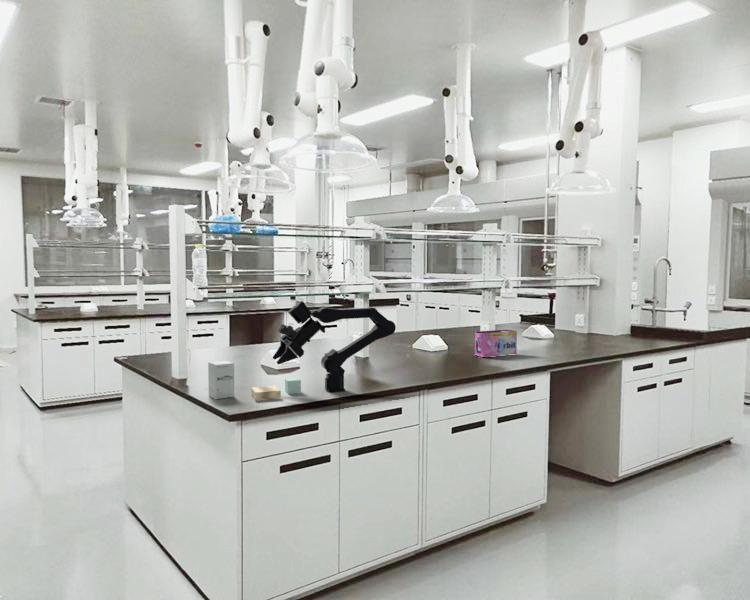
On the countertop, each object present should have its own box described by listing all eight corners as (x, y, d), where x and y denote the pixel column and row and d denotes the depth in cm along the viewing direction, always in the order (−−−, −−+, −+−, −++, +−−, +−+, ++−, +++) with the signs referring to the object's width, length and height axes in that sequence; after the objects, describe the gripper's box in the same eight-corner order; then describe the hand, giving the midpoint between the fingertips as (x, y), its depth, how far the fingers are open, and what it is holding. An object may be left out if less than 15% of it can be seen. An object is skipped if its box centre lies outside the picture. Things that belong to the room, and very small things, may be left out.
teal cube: (298, 390, 213) (298, 377, 213) (300, 393, 208) (300, 380, 208) (285, 391, 211) (285, 378, 211) (287, 394, 206) (287, 381, 206)
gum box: (481, 358, 289) (481, 333, 288) (472, 356, 296) (472, 331, 296) (517, 355, 300) (517, 330, 299) (507, 353, 307) (507, 329, 306)
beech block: (275, 394, 207) (275, 385, 207) (280, 400, 199) (280, 390, 198) (251, 396, 204) (251, 387, 204) (255, 402, 195) (255, 392, 195)
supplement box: (215, 399, 197) (214, 364, 197) (208, 396, 203) (207, 362, 203) (235, 397, 202) (234, 362, 201) (227, 393, 208) (227, 360, 207)
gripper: (287, 314, 215) (257, 341, 212) (297, 320, 198) (264, 350, 195) (306, 334, 218) (276, 361, 216) (317, 342, 201) (285, 372, 198)
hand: (275, 361), depth 206 cm, fingers open, 9 cm apart
